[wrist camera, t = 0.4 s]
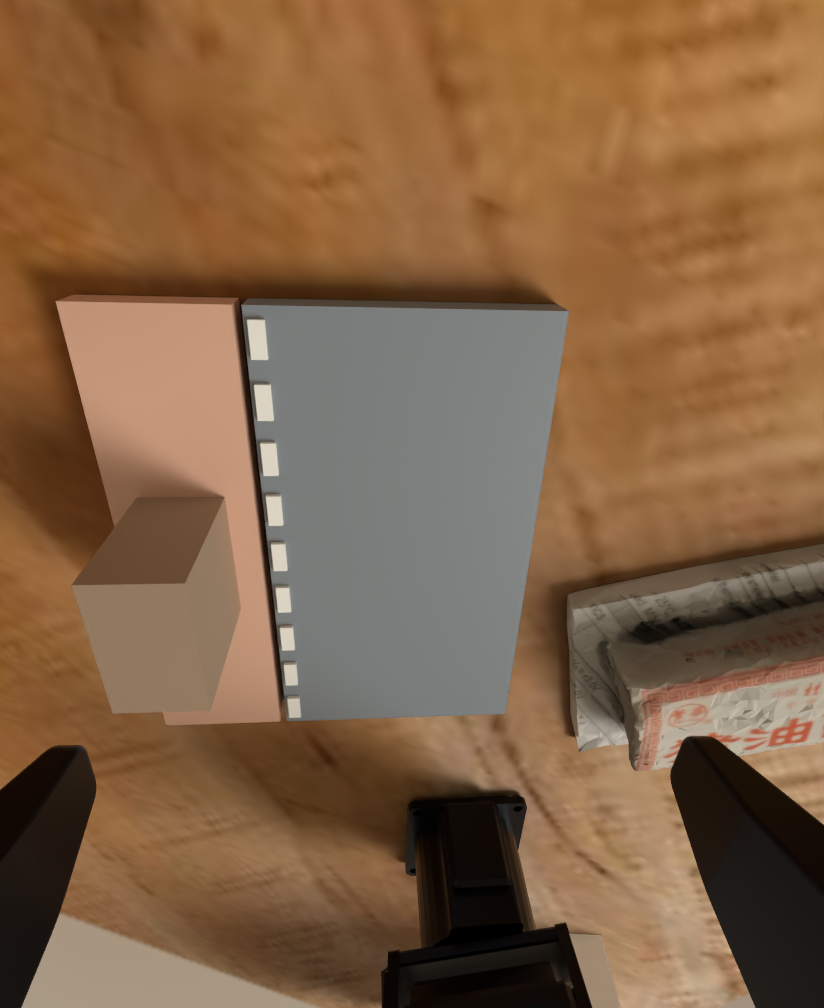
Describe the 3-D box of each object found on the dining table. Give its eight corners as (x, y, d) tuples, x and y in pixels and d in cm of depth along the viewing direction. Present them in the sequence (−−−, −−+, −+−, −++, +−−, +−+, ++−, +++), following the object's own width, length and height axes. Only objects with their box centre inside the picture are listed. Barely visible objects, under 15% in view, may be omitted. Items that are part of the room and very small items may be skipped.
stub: (283, 700, 27) (262, 830, 21) (174, 704, 26) (124, 837, 21) (238, 297, 18) (183, 345, 13) (74, 294, 18) (-57, 342, 12)
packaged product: (1095, 572, 20) (1004, 750, 25) (970, 506, 25) (912, 669, 29) (597, 665, 21) (602, 822, 26) (558, 584, 25) (569, 732, 30)
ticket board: (499, 693, 27) (505, 716, 26) (290, 700, 27) (286, 724, 26) (557, 304, 19) (570, 312, 18) (248, 298, 18) (240, 306, 17)
